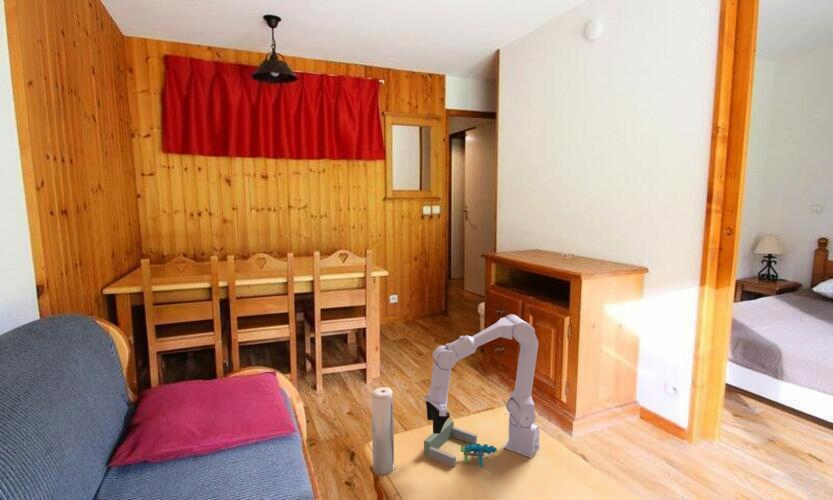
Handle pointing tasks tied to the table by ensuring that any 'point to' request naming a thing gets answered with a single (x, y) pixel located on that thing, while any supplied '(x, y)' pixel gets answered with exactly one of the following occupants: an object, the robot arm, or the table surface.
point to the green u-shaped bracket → (439, 439)
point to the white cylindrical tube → (382, 431)
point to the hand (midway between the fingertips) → (433, 426)
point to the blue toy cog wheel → (475, 449)
